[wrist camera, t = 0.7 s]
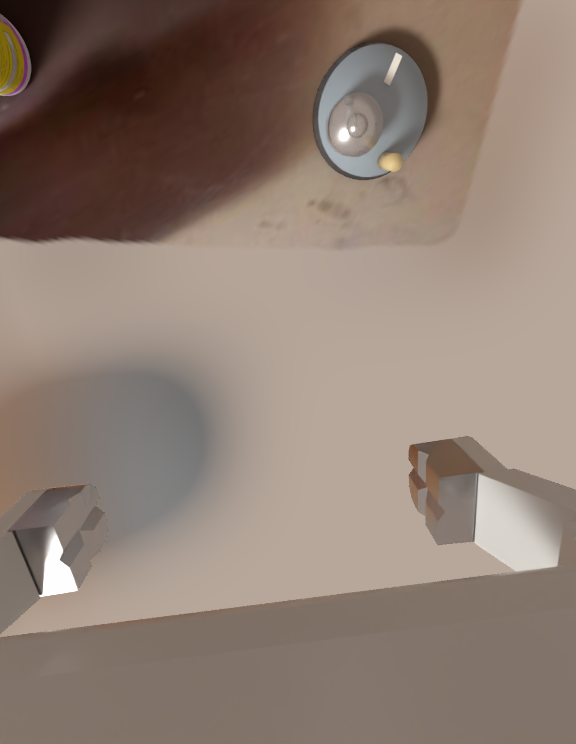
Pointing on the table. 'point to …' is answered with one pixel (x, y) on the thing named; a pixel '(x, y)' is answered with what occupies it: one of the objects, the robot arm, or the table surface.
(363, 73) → the turntable
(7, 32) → the supplement bottle
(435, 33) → the table surface
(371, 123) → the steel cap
